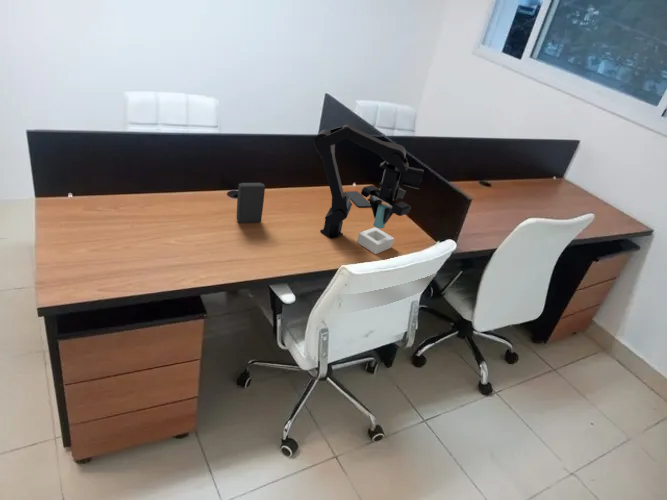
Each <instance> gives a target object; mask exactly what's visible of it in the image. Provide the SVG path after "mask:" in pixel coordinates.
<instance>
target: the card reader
mask: <svg viewBox="0 0 667 500" xmlns="http://www.w3.org/2000/svg"><path fill="white" fill-rule="evenodd" d="M265 189H266V186H265V184H264V183H262V182H241V183H239V184H238V189H237V200H236V202H237V203H236V222H237V223H240V224H244V223H245V224H246V223H251V222H252V223H260V222H261V221H262V217H263V208H264V202H265V201H264V200H265V192H266V191H265Z"/></svg>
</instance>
